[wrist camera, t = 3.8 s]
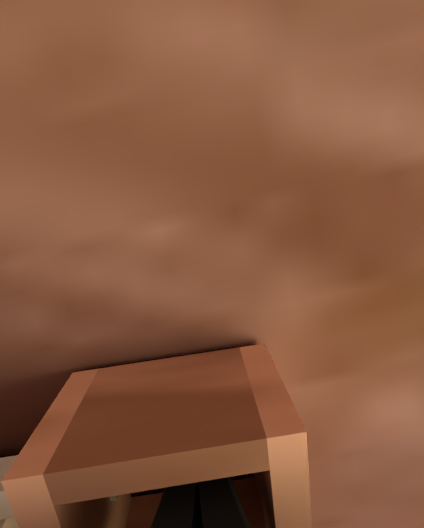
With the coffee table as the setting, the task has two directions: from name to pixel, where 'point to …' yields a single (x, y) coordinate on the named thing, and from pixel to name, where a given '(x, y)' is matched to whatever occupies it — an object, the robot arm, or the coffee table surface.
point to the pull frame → (162, 443)
